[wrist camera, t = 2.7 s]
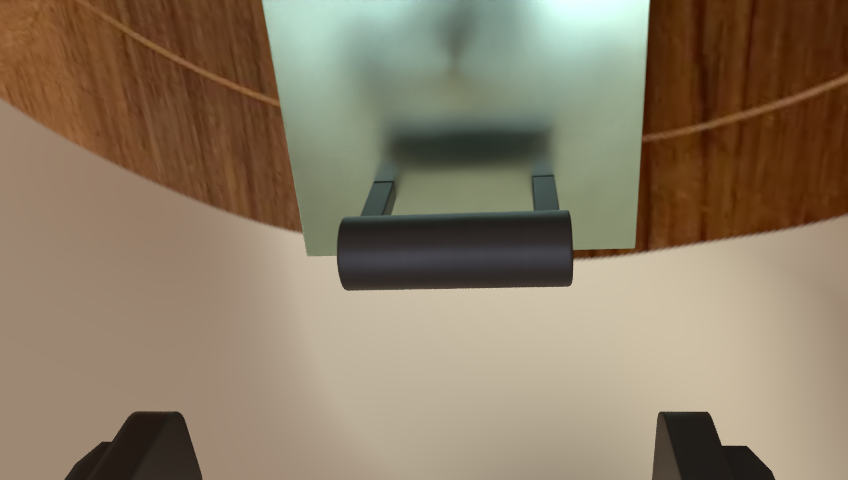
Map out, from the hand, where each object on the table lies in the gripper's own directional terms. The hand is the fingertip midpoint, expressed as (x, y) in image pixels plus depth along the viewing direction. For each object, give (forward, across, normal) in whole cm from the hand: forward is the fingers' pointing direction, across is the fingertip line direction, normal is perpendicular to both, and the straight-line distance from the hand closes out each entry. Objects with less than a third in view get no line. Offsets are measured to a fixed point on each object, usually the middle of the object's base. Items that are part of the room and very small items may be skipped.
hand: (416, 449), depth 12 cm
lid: (+13, 0, +3) cm, 13 cm away
